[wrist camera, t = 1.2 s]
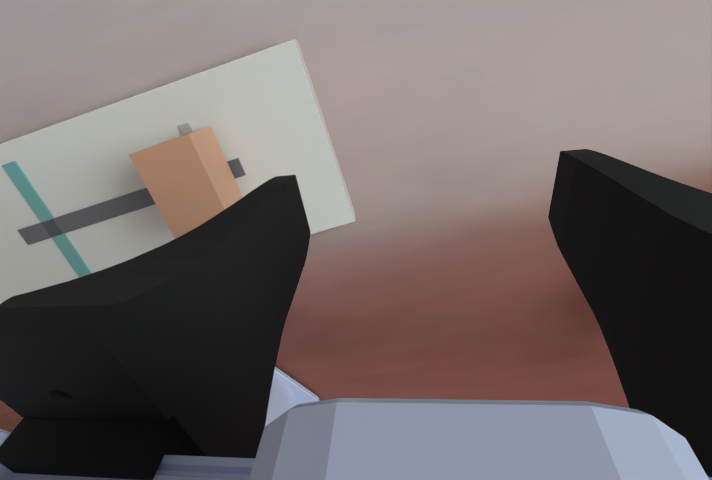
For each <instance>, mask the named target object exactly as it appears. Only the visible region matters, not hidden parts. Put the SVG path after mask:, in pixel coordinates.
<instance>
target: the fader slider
mask: <svg viewBox="0 0 712 480" xmlns="http://www.w3.org/2000/svg"><path fill="white" fill-rule="evenodd" d="M129 156H130V158H131V160H132V162H133V164H134V165H135V167H136V169H137V171H138V173H139V174H140V176H141V178H142V180H143V182H144V184H145V185H146V187H147V189H148V191H149V193H150V194H151V196H152V198H153V200H154V202H155V203H156V205H157V207H158V209H159V211H160V213H161V214H162V216H163V218H164V220H165V222H166V223H167V225H168V227H169V229H170V231H171V232H172V234H173V236H174V238H175V239H176V238H178V237H180V236H182V235H184V234H186V233H187V232H189V231H191V230H193V229H195V228H196V227H198V226H200V225H201V224H203V223H205V222H206V221H208V220H209V219H211V218H212V217H214V216H216V215H217V214H219V213H220V212H222V211H223V210H225V209H226V208H228V207H230V206H231V205H232V204H234V203H235V202H237V201H238V200H240V199H241V198H243V196H242V194H241V192H240V189H239V187H238V185H237V183H236V180H235V178H234V176H233V174H232V172H231V169H230V167H229V165H228V163H227V161H226V158H225V156H224V154H223V152H222V149H221V147H220V145H219V143H218V141H217V138H216V136H215V134H214V132H213V129H212V127H211V126H208V127H206V128H203V129H200V130H197V131H194V132H191V133H188V134H185V135H182V136H179V137H176V138H173V139H170V140H167V141H164V142H161V143H158V144H156V145H153V146H150V147H148V148H145V149H142V150H140V151H137V152H134V153H132V154H129Z"/></svg>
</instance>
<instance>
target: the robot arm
mask: <svg viewBox="0 0 712 480" xmlns="http://www.w3.org/2000/svg"><path fill="white" fill-rule="evenodd" d="M548 217H549V221H550V224H551V227H552V230H553V233H554V236H555V239H556V242H557V245H558V247H559V249H560V251H561V253H562V255H563V257H564V259H565V261H566V263H567V264H568V266H569V268H570V270H571V272H572V274H573V276H574V277H575V279H576V281H577V283H578V285H579V287H580V289H581V290H582V292H583V294H584V296H585V298H586V300H587V302H588V303H589V305H590V307H591V309H592V311H593V313H594V315H595V317H596V319H597V321H598V323H599V325H600V328H601V330H602V333H603V335H604V338H605V341H606V343H607V346H608V348H609V351H610V353H611V356H612V359H613V361H614V364H615V367H616V370H617V373H618V375H619V378H620V381H621V384H622V387H623V389H624V392H625V395H626V398H627V401H628V404H629V407H630V408H624V407H618V406H611V405H605V404H599V403H592V402H586V401H527V400H448V399H369V398H337V399H331V400H324V401H319V397H318V396H316V395H315V394H314V393H312V392H311V391H309V390H308V389H306V388H305V387H304V386H302V385H301V384H299V383H298V382H296V381H295V380H294V379H292V378H291V377H289V376H288V375H286V374H285V373H284V372H282V371H281V370H279V369H278V368H276V367H275V364H276V359H277V355H278V350H279V345H280V340H281V336H282V331H283V328H284V324H285V321H286V317H287V314H288V311H289V308H290V306H291V303H292V300H293V297H294V294H295V291H296V288H297V285H298V282H299V279H300V276H301V273H302V270H303V267H304V264H305V260H306V256H307V251H308V245H309V239H310V228H309V224H308V220H307V216H306V213H305V209H304V205H303V201H302V198H301V194H300V190H299V186H298V182H297V179H296V175H286V176H276V177H274V178H271V179H270V180H268V181H266V182H265V183H263V184H261V185H260V186H258V187H257V188H256V189H254V190H253V191H251V192H250V193H248V194H247V195H245V196H244V197H243V198H241V199H240V200H238V201H237V202H235V203H234V204H232V205H231V206H230V207H228V208H226V209H225V210H223V211H222V212H220V213H219V214H217V215H216V216H214V217H212V218H211V219H209V220H208V221H206V222H205V223H203V224H201V225H200V226H198V227H196V228H195V229H193V230H191V231H189V232H187V233H186V234H184V235H182V236H180V237H178V238H176V239H174V240H172V241H170V242H168V243H166V244H164V245H162V246H160V247H157V248H155V249H153V250H150V251H148V252H146V253H143V254H141V255H139V256H137V257H134V258H132V259H130V260H127V261H125V262H122V263H119V264H117V265H114V266H111V267H109V268H106V269H103V270H100V271H97V272H94V273H92V274H89V275H86V276H83V277H80V278H76V279H73V280H70V281H67V282H63V283H60V284H56V285H53V286H49V287H45V288H42V289H38V290H35V291H31V292H28V293H24V294H20V295H16V296H13V297H11V298H9V299H7V300H5V301H4V302H2V303H1V304H0V399H1V400H2V401H3V402H4V403H6V404H7V405H8V406H9V407H11V408H12V409H13V410H14V411H16V412H17V413H18V414H19V415H21V416H22V417H24V418H23V419H22V421H21V422H20V423H19V424H18V425H17V427H16V428H15V429H14V430H13V432H12V433H10V432H8V431H5V430H2V429H0V480H712V193H709V192H705V191H702V190H699V189H696V188H693V187H690V186H687V185H684V184H681V183H679V182H676V181H673V180H670V179H667V178H665V177H662V176H659V175H657V174H654V173H651V172H649V171H646V170H644V169H641V168H639V167H636V166H633V165H631V164H628V163H626V162H623V161H621V160H618V159H616V158H613V157H610V156H608V155H605V154H602V153H599V152H596V151H592V150H588V149H581V150H570V151H560V156H559V161H558V167H557V172H556V178H555V183H554V189H553V194H552V200H551V205H550V211H549V216H548Z"/></svg>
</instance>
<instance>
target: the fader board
mask: <svg viewBox="0 0 712 480" xmlns="http://www.w3.org/2000/svg"><path fill="white" fill-rule="evenodd" d="M208 126H211V127H212V129H213V132H214V134H215V136H216V138H217V141H218V143H219V145H220V147H221V149H222V152H223V154H224V156H225V158H226V161H227V163H228V165H229V167H230V169H231V172H232V174H233V176H234V178H235V180H236V183H237V185H238V187H239V189H240V192H241V194H242V196H243V197H244V196H245V195H247V194H248V193H250V192H251V191H253V190H254V189H256V188H257V187H258V186H260V185H261V184H263V183H265V182H266V181H268V180H270V179H271V178H274V177H276V176H286V175H296V179H297V182H298V186H299V190H300V194H301V198H302V201H303V205H304V209H305V213H306V216H307V220H308V224H309V228H310V234H314V233H317V232H320V231H324V230H327V229H330V228H334V227H337V226H340V225H344V224H347V223H350V222H354V221H355V211H354V208H353V205H352V202H351V199H350V196H349V193H348V190H347V187H346V184H345V181H344V178H343V175H342V172H341V169H340V166H339V163H338V160H337V157H336V154H335V151H334V148H333V145H332V142H331V139H330V136H329V133H328V130H327V127H326V124H325V121H324V118H323V115H322V112H321V109H320V106H319V103H318V100H317V97H316V94H315V91H314V88H313V85H312V82H311V79H310V76H309V73H308V70H307V67H306V64H305V61H304V58H303V55H302V52H301V49H300V46H299V43H298V41H297V40H295V39H293V40H290V41H287V42H284V43H282V44H279V45H276V46H273V47H270V48H268V49H265V50H262V51H259V52H256V53H254V54H251V55H248V56H245V57H242V58H240V59H237V60H234V61H231V62H228V63H226V64H223V65H220V66H217V67H214V68H212V69H209V70H206V71H203V72H200V73H198V74H195V75H192V76H189V77H186V78H184V79H181V80H178V81H175V82H172V83H170V84H167V85H164V86H161V87H158V88H156V89H153V90H150V91H147V92H144V93H142V94H139V95H136V96H133V97H130V98H128V99H125V100H122V101H119V102H116V103H114V104H111V105H108V106H105V107H102V108H100V109H97V110H94V111H91V112H88V113H86V114H83V115H80V116H77V117H74V118H72V119H69V120H66V121H63V122H60V123H58V124H55V125H52V126H49V127H46V128H44V129H41V130H38V131H35V132H32V133H30V134H27V135H24V136H21V137H18V138H16V139H13V140H10V141H7V142H4V143H2V144H0V304H1V303H2V302H4V301H5V300H7V299H9V298H11V297H13V296H16V295H20V294H24V293H28V292H31V291H35V290H38V289H42V288H45V287H49V286H53V285H56V284H60V283H63V282H67V281H70V280H73V279H76V278H80V277H83V276H86V275H89V274H92V273H94V272H97V271H100V270H103V269H106V268H109V267H111V266H114V265H117V264H119V263H122V262H125V261H127V260H130V259H132V258H134V257H137V256H139V255H141V254H143V253H146V252H148V251H150V250H153V249H155V248H157V247H160V246H162V245H164V244H166V243H168V242H170V241H172V240H174V239H175V238H174V236H173V234H172V232H171V231H170V229H169V227H168V225H167V223H166V222H165V220H164V218H163V216H162V214H161V213H160V211H159V209H158V207H157V205H156V203H155V202H154V200H153V198H152V196H151V194H150V193H149V191H148V189H147V187H146V185H145V184H144V182H143V180H142V178H141V176H140V174H139V173H138V171H137V169H136V167H135V165H134V164H133V162H132V160H131V158H130V156H129V154H132V153H134V152H137V151H140V150H142V149H145V148H148V147H150V146H153V145H156V144H158V143H161V142H164V141H167V140H170V139H173V138H176V137H179V136H182V135H185V134H188V133H191V132H194V131H197V130H200V129H203V128H206V127H208Z"/></svg>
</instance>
